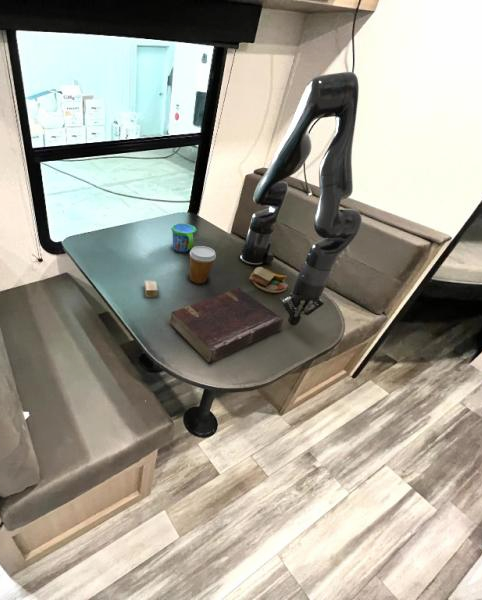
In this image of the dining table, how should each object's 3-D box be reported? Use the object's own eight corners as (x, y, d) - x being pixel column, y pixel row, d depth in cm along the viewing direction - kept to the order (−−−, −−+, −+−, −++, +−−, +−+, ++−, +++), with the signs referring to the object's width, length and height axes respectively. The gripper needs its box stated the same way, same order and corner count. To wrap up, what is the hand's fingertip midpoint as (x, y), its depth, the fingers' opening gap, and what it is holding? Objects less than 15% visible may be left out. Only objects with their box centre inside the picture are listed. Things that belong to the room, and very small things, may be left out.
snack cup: (164, 242, 147) (166, 221, 141) (185, 240, 149) (188, 220, 143) (175, 258, 135) (178, 236, 129) (198, 256, 137) (202, 234, 131)
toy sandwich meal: (276, 298, 113) (280, 287, 110) (243, 282, 121) (246, 272, 118) (291, 286, 120) (296, 275, 117) (259, 271, 128) (263, 261, 125)
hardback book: (209, 363, 87) (213, 350, 84) (169, 324, 100) (171, 311, 97) (279, 330, 99) (284, 318, 96) (235, 299, 112) (239, 287, 109)
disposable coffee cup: (210, 287, 117) (216, 259, 110) (184, 283, 119) (189, 255, 112) (210, 274, 125) (216, 247, 118) (186, 271, 126) (190, 244, 119)
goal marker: (155, 287, 116) (155, 280, 114) (156, 297, 111) (157, 290, 109) (144, 287, 116) (144, 280, 114) (145, 297, 111) (146, 290, 109)
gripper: (327, 271, 93) (305, 316, 104) (284, 271, 92) (267, 316, 103) (342, 285, 87) (318, 331, 98) (296, 285, 86) (276, 331, 97)
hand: (291, 323), depth 100 cm, fingers closed
